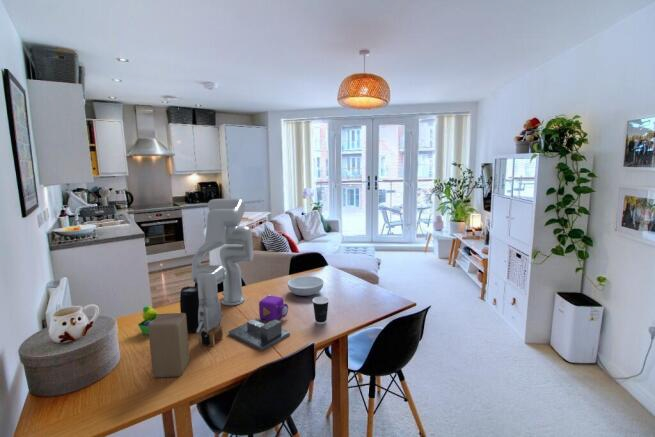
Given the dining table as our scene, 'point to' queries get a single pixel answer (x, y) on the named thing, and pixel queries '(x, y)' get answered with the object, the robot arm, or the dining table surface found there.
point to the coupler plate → (255, 337)
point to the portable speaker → (190, 307)
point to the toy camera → (272, 308)
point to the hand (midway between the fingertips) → (211, 339)
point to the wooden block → (169, 344)
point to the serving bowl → (305, 285)
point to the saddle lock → (213, 335)
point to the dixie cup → (320, 309)
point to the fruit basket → (147, 319)
